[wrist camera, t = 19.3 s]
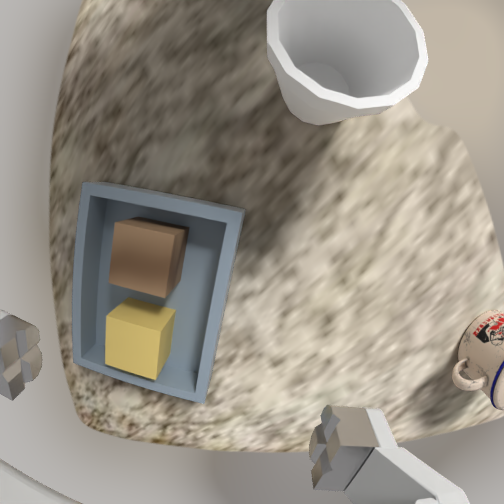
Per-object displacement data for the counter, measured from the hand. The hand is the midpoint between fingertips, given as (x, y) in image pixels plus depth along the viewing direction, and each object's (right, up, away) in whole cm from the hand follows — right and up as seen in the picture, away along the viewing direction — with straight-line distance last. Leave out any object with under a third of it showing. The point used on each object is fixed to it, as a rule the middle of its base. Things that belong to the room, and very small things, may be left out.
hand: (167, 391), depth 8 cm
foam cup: (+8, +18, +19) cm, 28 cm away
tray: (-7, 0, +23) cm, 24 cm away
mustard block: (-8, -4, +23) cm, 24 cm away
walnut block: (-6, +4, +21) cm, 23 cm away
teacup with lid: (+29, -8, +24) cm, 38 cm away
